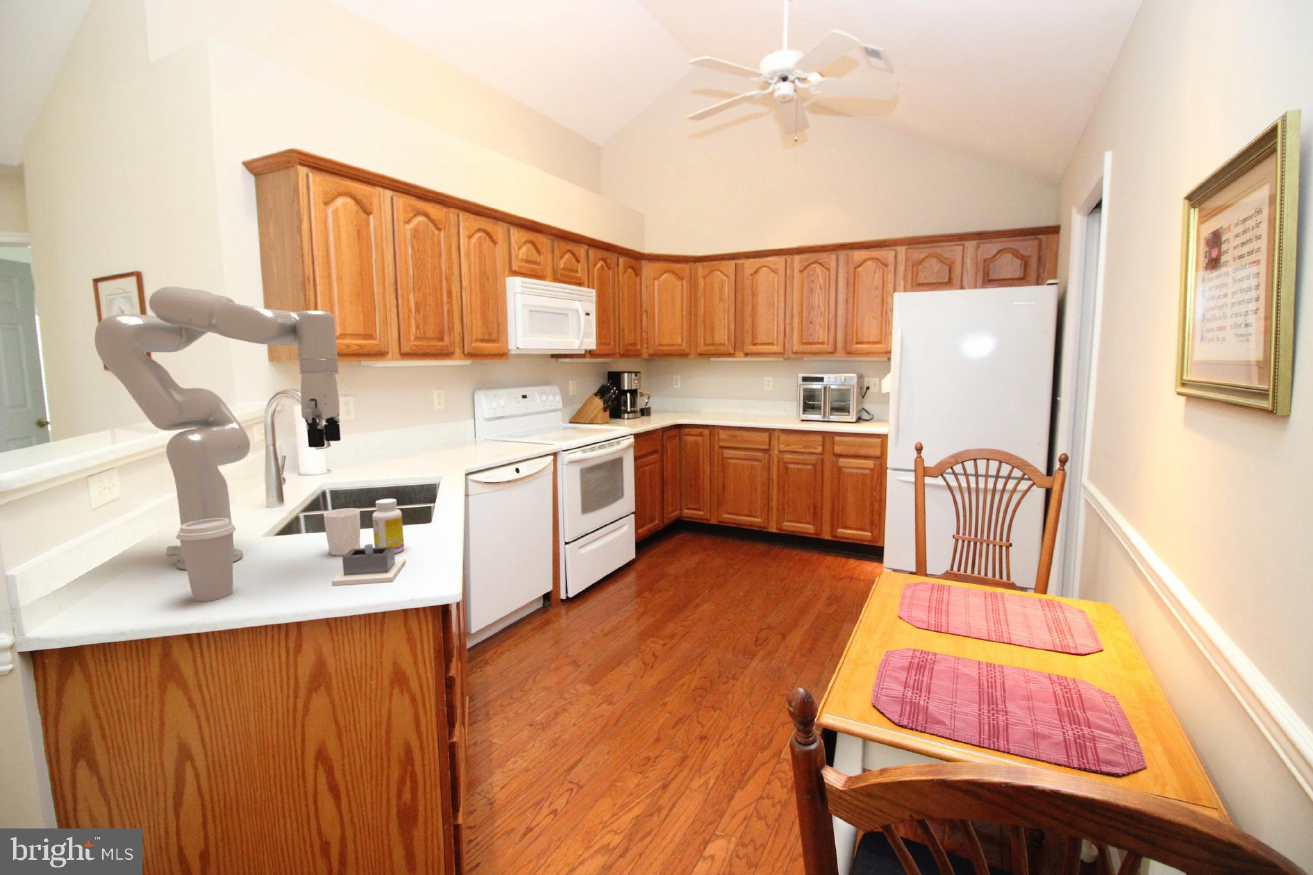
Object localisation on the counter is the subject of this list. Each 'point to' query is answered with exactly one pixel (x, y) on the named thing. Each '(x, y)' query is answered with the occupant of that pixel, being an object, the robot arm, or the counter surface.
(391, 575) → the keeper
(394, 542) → the supplement bottle
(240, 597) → the counter surface
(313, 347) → the robot arm
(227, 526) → the coffee cup
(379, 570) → the link
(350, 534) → the white cup
